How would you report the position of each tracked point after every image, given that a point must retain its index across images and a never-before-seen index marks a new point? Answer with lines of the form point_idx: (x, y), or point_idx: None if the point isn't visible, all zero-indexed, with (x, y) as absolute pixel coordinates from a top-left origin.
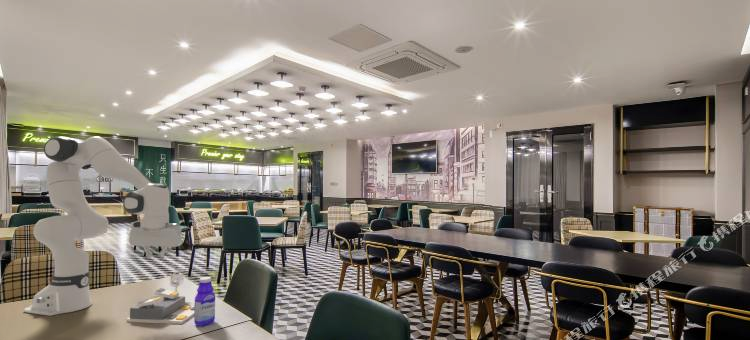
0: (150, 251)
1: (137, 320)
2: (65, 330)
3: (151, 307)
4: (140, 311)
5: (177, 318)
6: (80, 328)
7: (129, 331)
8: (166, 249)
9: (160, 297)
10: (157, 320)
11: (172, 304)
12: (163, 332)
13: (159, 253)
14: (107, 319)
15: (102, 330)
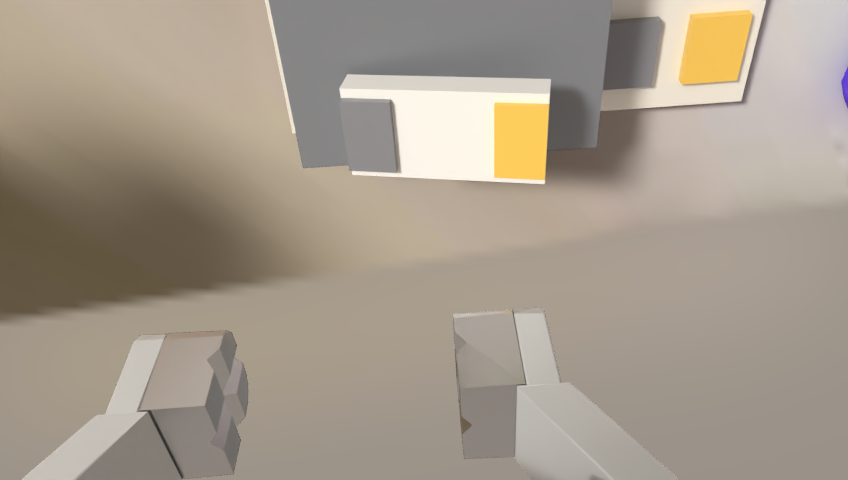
0: (140, 415)
1: None
2: (62, 280)
3: None
4: None
5: (694, 82)
6: (113, 249)
7: (446, 235)
8: (637, 447)
9: (543, 133)
10: None
11: (609, 9)
12: (663, 215)
13: (491, 448)
14: (117, 111)
15: (273, 249)
